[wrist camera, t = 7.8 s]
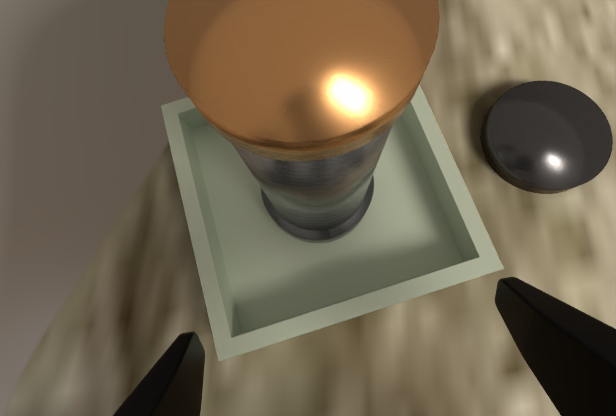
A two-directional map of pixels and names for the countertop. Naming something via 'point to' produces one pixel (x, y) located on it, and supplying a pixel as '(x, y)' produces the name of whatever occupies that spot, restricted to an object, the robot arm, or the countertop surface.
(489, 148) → the stud
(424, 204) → the bin
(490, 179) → the countertop surface
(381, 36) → the grey and gold cylinder
